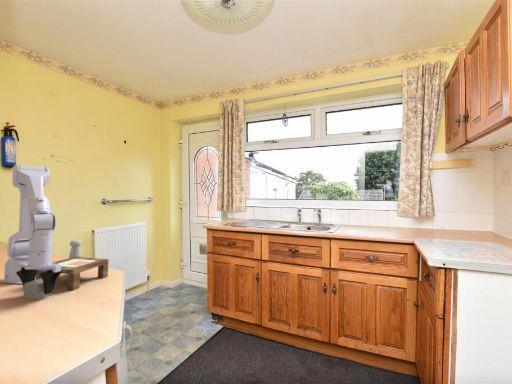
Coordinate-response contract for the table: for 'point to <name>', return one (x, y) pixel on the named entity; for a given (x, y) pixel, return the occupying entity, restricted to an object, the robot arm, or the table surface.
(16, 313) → the table surface
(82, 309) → the table surface
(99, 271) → the trapdoor frame
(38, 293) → the pale grey cube
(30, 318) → the table surface
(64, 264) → the trapdoor
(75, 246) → the salt shaker
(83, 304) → the table surface
